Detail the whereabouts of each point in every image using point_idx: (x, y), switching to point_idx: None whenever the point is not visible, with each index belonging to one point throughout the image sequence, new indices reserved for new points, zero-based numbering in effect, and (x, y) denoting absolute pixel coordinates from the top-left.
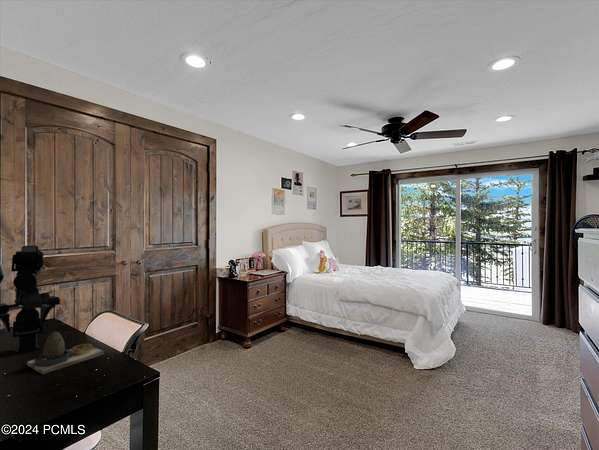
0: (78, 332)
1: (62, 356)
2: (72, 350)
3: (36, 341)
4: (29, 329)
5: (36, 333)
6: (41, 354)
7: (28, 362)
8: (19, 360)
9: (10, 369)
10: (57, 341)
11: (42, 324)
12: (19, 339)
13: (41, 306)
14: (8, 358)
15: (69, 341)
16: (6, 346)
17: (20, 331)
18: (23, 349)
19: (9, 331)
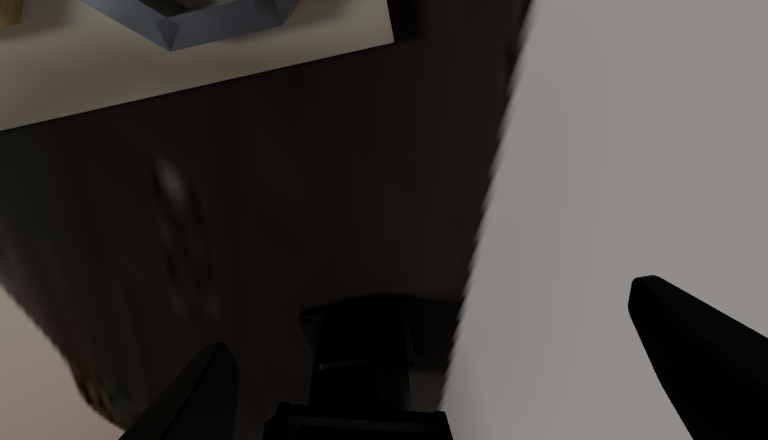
0: (124, 422)
1: None
2: None
3: (315, 361)
4: (352, 437)
5: (309, 406)
6: (282, 5)
7: (387, 7)
8: (418, 188)
9: (497, 30)
10: None
11: (203, 356)
12: (405, 392)
13: None
14: (459, 266)
15: (148, 326)
16: None
17: (412, 436)
18: (383, 322)
19: (653, 287)
